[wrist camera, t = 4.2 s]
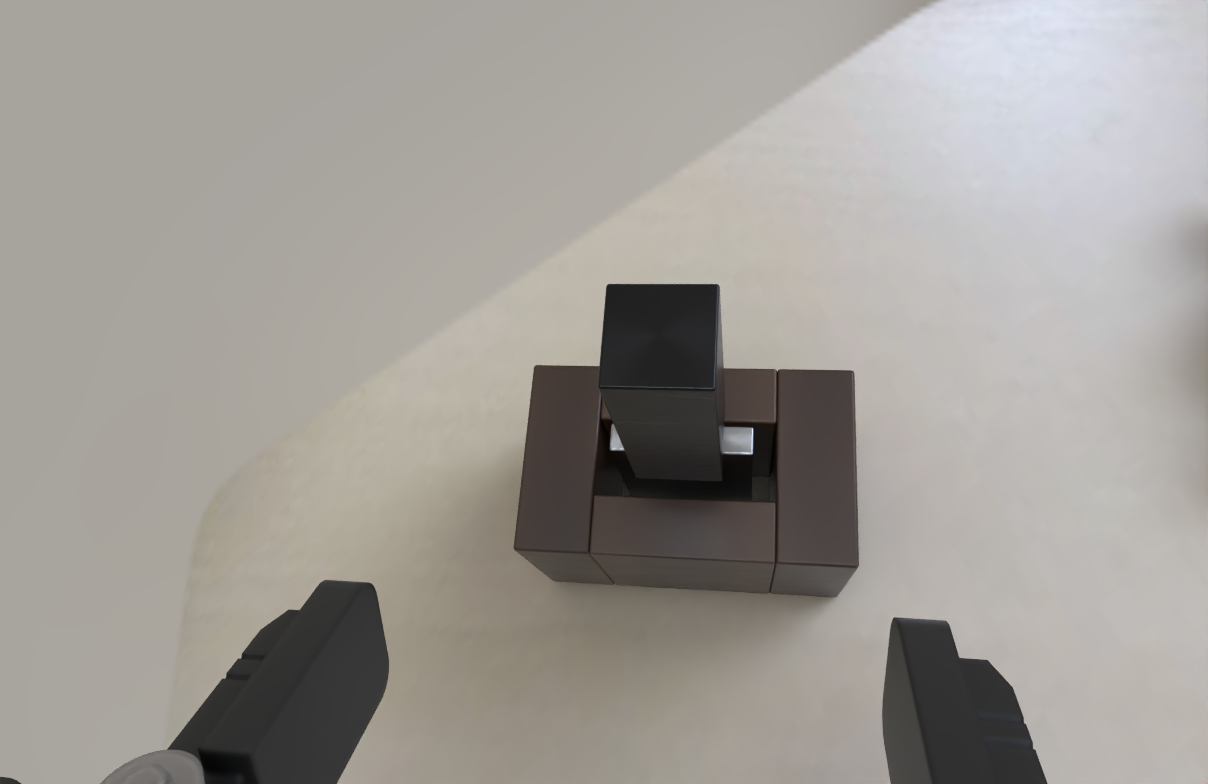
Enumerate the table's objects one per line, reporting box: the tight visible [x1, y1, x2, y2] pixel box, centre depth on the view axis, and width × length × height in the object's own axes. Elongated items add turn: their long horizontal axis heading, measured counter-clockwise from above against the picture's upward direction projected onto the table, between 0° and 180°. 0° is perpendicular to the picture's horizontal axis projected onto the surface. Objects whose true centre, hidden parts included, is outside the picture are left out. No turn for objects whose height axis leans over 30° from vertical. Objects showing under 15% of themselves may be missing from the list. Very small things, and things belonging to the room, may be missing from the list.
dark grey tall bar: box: [598, 284, 754, 501], centre depth 25 cm, size 4×2×15 cm, turn 86°
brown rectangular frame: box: [514, 365, 859, 597], centre depth 29 cm, size 10×6×6 cm, turn 86°
